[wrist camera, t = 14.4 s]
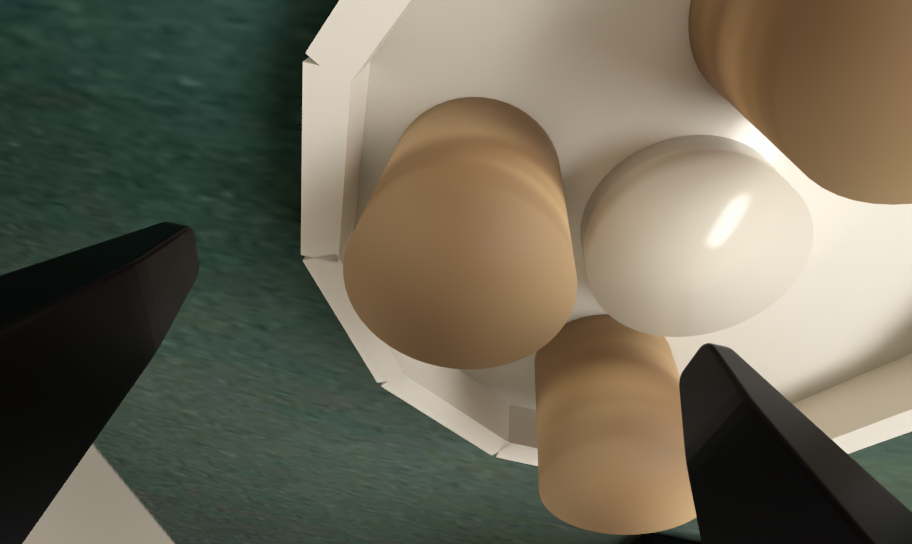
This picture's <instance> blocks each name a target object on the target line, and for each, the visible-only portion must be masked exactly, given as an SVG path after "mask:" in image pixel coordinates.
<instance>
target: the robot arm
mask: <svg viewBox="0 0 912 544" xmlns="http://www.w3.org/2000/svg"><path fill="white" fill-rule="evenodd" d="M198 271H199V262H198V255H197V249H196V242H195V236H194V232H193V230H192V229H191V228H190V227H188V226H185V225H180V224H176V223H171V222H162V223H159V224H156V225H153V226H150V227H147V228H144V229H141V230H138V231H135V232H132V233H129V234H126V235H123V236H120V237H117V238H113V239H110V240H107V241H104V242H101V243H98V244H95V245H92V246H89V247H86V248H83V249H80V250H77V251H74V252H71V253H68V254H65V255H62V256H59V257H56V258H53V259H50V260H47V261H44V262H40V263H37V264H34V265H31V266H28V267H25V268H22V269H19V270H16V271H13V272H10V273H7V274H4V275H1V276H0V544H22V543H23V542H24V540H25V539H26V537H27V536H28V535H29V533H30V532H31V530H32V529H33V527H34V526H35V525H36V523H37V522H38V520H39V519H40V517H41V516H42V515H43V513H44V512H45V510H46V509H47V508H48V506H49V505H50V503H51V502H52V500H53V499H54V497H55V496H56V494H57V493H58V492H59V490H60V489H61V488H62V486H63V485H64V483H65V482H66V480H67V479H68V478H69V476H70V475H71V473H72V472H73V470H74V469H75V468H76V466H77V465H78V463H79V462H80V460H81V459H82V458H83V456H84V455H85V453H86V452H87V450H88V449H89V448H90V446H91V445H92V443H93V442H94V440H95V439H96V438H97V436H98V435H99V433H100V432H101V430H102V429H103V428H104V426H105V425H106V423H107V422H108V421H109V419H110V418H111V416H112V415H113V413H114V412H115V411H116V409H117V408H118V406H119V405H120V403H121V402H122V401H123V399H124V398H125V396H126V395H127V393H128V392H129V391H130V389H131V388H132V386H133V385H134V383H135V382H136V381H137V379H138V378H139V376H140V375H141V373H142V372H143V371H144V369H145V368H146V366H147V365H148V363H149V362H150V360H151V359H152V357H153V356H154V354H155V353H156V351H157V350H158V348H159V346H160V345H161V343H162V341H163V339H164V338H165V336H166V334H167V332H168V330H169V328H170V326H171V325H172V323H173V321H174V319H175V317H176V315H177V313H178V312H179V310H180V308H181V306H182V304H183V302H184V300H185V299H186V297H187V295H188V293H189V291H190V289H191V287H192V286H193V284H194V282H195V280H196V278H197V275H198ZM679 391H680V402H681V414H682V425H683V437H684V448H685V457H686V465H687V471H688V476H689V482H690V487H691V491H692V496H693V501H694V506H695V511H696V516H697V521H698V526H699V531H700V536H701V541H702V544H912V512H911V511H910V510H909V509H908V508H907V507H905V506H904V505H903V504H902V503H901V502H900V501H899V500H898V499H897V498H896V497H894V496H893V495H892V494H891V493H890V492H889V491H888V490H887V489H886V488H884V487H883V486H882V485H881V484H880V483H879V482H878V481H877V480H876V479H875V478H873V477H872V476H871V475H870V474H869V473H868V472H867V471H866V470H865V469H864V468H862V467H861V466H860V465H859V464H858V463H857V462H856V461H855V460H854V459H853V458H851V457H850V456H849V455H848V454H847V453H846V452H845V451H844V450H843V449H841V448H840V447H839V446H838V445H837V444H836V443H835V442H834V441H833V440H832V439H830V438H829V437H828V436H827V435H826V434H825V433H824V432H823V431H822V430H821V429H819V428H818V427H817V426H816V425H815V424H814V423H813V422H812V421H811V420H810V419H808V418H807V417H806V416H805V415H804V414H803V413H802V412H801V411H800V410H799V409H797V408H796V407H795V406H794V405H793V404H792V403H791V402H790V401H789V400H787V399H786V398H785V397H784V396H783V395H782V394H781V393H780V392H779V391H778V390H776V389H775V388H774V387H773V386H772V385H771V384H770V383H769V382H768V381H767V380H765V379H764V378H763V377H762V376H761V375H760V374H759V373H758V372H757V371H756V370H754V369H753V368H752V367H751V366H750V365H749V364H748V363H747V362H746V361H745V360H743V359H742V358H741V357H740V356H739V355H738V354H737V353H736V352H735V351H734V350H732V349H731V348H729V347H726V346H721V345H717V344H713V343H706V344H704V345H702V346H701V347H700V348H699V349H698V351H697V352H696V354H695V355H694V356H693V358H692V359H691V360H690V362H689V363H688V365H687V366H686V367H685V369H684V370H683V372H682V374H681V376H680V380H679ZM635 544H696V543H691V542H686V541H682V540H677V539H672V538H667V537H662V536H657V535H644V536H642V537H640V538H639V539H638V540H637V541H636V542H635Z"/></svg>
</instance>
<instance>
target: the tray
mask: <svg viewBox="0 0 912 544" xmlns="http://www.w3.org/2000/svg"><path fill="white" fill-rule="evenodd" d="M690 2H691V0H339V1H338V3H337V5H336V6H335V8H334V9H333V11H332V12H331V14H330V15H329V17H328V18H327V20H326V22H325V23H324V25H323V26H322V28H321V29H320V31H319V32H318V34H317V36H316V37H315V39H314V40H313V42H312V43H311V45H310V46H309V48H308V49H307V51H306V54H307V55H308V56H309V57H308V58H307V59H306V60H304V61H303V78H302V176H301V255H303V256H305V257H304V259H303V262H304V264H305V266H306V267H307V269H308V271H309V272H310V274H311V275H312V277H313V279H314V280H315V282H316V284H317V285H318V287H319V288H320V290H321V292H322V293H323V295H324V297H325V298H326V300H327V302H328V303H329V305H330V306H331V308H332V310H333V311H334V313H335V315H336V316H337V318H338V319H339V321H340V323H341V324H342V326H343V328H344V329H345V331H346V333H347V334H348V336H349V337H350V339H351V341H352V342H353V344H354V346H355V347H356V349H357V350H358V352H359V354H360V355H361V357H362V359H363V360H364V362H365V364H366V365H367V367H368V368H369V370H370V372H371V373H372V375H373V377H374V378H375V380H376V381H377V383H379V382H382V384H381V387H383V388H384V389H386V390H388V391H389V392H391V393H392V394H394V395H396V396H397V397H399V398H400V399H402V400H404V401H405V402H407V403H408V404H410V405H412V406H413V407H415V408H416V409H418V410H420V411H421V412H423V413H424V414H426V415H428V416H429V417H431V418H432V419H434V420H436V421H437V422H439V423H440V424H442V425H444V426H445V427H447V428H448V429H450V430H452V431H453V432H455V433H456V434H458V435H460V436H461V437H463V438H464V439H466V440H468V441H469V442H471V443H472V444H474V445H476V446H477V447H479V448H480V449H482V450H484V451H485V452H487V453H488V454H490V455H494V454H495V453H496V457H497V458H502V459H507V460H511V461H516V462H521V463H526V464H530V465H535V466H538V448H537V420H536V392H535V363H534V362H535V355H536V352H537V351H536V352H535V353H533V354H531V355H529V356H527V357H525V358H523V359H520V360H518V361H516V362H513V363H509V364H506V365H503V366H498V367H493V368H485V369H452V368H445V367H440V366H435V365H431V364H427V363H424V362H421V361H418V360H416V359H413V358H411V357H409V356H406V355H404V354H402V353H400V352H398V351H397V350H395V349H393V348H392V347H390V346H388V345H387V344H386V343H384V342H383V341H382V340H380V339H379V338H378V337H377V336H376V335H375V334H374V333H372V332H371V331H370V330H369V329H368V328H367V326H366V325H365V324H364V323H363V322H362V321H361V319H360V318H359V316H358V315H357V313H356V312H355V310H354V308H353V306H352V304H351V302H350V300H349V298H348V295H347V292H346V289H345V283H344V277H343V262H344V256H345V251H346V248H347V245H348V242H349V239H350V237H351V235H352V233H353V231H354V229H355V227H356V225H357V223H358V222H359V220H360V218H361V216H362V214H363V212H364V210H365V208H366V206H367V204H368V202H369V200H370V198H371V196H372V194H373V192H374V190H375V188H376V186H377V184H378V182H379V180H380V178H381V176H382V174H383V172H384V170H385V168H386V166H387V164H388V162H389V160H390V158H391V156H392V154H393V152H394V150H395V148H396V146H397V144H398V142H399V140H400V139H401V137H402V135H403V133H404V132H405V131H406V129H407V128H408V127H409V125H410V124H411V123H412V122H413V121H414V120H415V119H416V118H417V117H419V116H420V115H421V114H422V113H424V112H425V111H427V110H428V109H430V108H432V107H434V106H436V105H438V104H440V103H443V102H446V101H449V100H453V99H457V98H464V97H485V98H491V99H496V100H499V101H503V102H506V103H508V104H511V105H513V106H515V107H517V108H519V109H521V110H522V111H524V112H525V113H527V114H528V115H529V116H531V117H532V118H533V119H534V120H535V121H537V122H538V124H539V125H540V126H541V127H542V128H543V129H544V130H545V132H546V133H547V135H548V136H549V138H550V139H551V141H552V143H553V145H554V147H555V149H556V152H557V156H558V159H559V164H560V170H561V177H562V183H563V190H564V196H565V203H566V209H567V216H568V222H569V228H570V235H571V241H572V248H573V254H574V261H575V267H576V274H577V294H576V299H575V304H574V306H573V309H572V312H571V314H570V316H569V318H568V320H567V322H566V323H568V322H570V321H573V320H576V319H579V318H582V317H587V316H592V315H602V314H608V315H610V316H611V317H612V318H614V319H615V320H616V321H618V322H620V323H621V324H623V325H625V326H627V327H629V328H632V329H634V330H637V331H640V332H643V333H647V334H652V335H658V336H664V337H665V339H666V340H667V342H668V344H669V346H670V348H671V351H672V354H673V357H674V360H675V363H676V366H677V369H678V372H679V375H680V376H681V374H682V372H683V370H684V369H685V367H686V366H687V365H688V363H689V362H690V360H691V359H692V358H693V356H694V355H695V354H696V352H697V351H698V349H699V348H700V347H701V346H702V345H704V344H706V343H713V344H717V345H721V346H726V347H729V348H731V349H732V350H734V351H735V352H736V353H737V354H738V355H739V356H740V357H741V358H742V359H743V360H745V361H746V362H747V363H748V364H749V365H750V366H751V367H752V368H753V369H754V370H756V371H757V372H758V373H759V374H760V375H761V376H762V377H763V378H764V379H765V380H767V381H768V382H769V383H770V384H771V385H772V386H773V387H774V388H775V389H776V390H778V391H779V392H780V393H781V394H782V395H783V396H784V397H785V398H786V399H787V400H789V401H790V402H791V403H792V404H793V405H794V406H795V407H796V408H797V409H799V410H800V411H801V412H802V413H803V414H804V415H805V416H806V417H807V418H808V419H810V420H811V421H812V422H813V423H814V424H815V425H816V426H817V427H818V428H819V429H821V430H822V431H823V432H824V433H825V434H826V435H827V436H828V437H829V438H830V439H832V440H833V441H834V442H835V443H836V444H837V445H838V446H839V447H840V448H841V449H843V450H844V451H845V452H846V453H847V454H849V453H852V452H854V451H857V450H860V449H863V448H866V447H869V446H871V445H874V444H877V443H880V442H883V441H886V440H888V439H891V438H894V437H897V436H900V435H902V434H905V433H908V432H911V431H912V204H898V205H888V204H872V203H866V202H860V201H854V200H851V199H848V198H845V197H841V196H838V195H836V194H834V193H832V192H830V191H828V190H826V189H824V188H822V187H820V186H819V185H818V184H816V183H815V182H813V181H812V180H811V179H809V178H808V177H807V176H806V175H805V174H804V173H803V172H802V171H801V170H800V169H799V168H798V167H797V166H796V165H794V164H793V163H792V162H791V161H790V160H789V159H788V158H787V157H786V156H785V155H784V154H783V153H782V152H781V151H780V150H779V149H778V148H777V147H776V146H774V145H773V144H772V143H771V142H770V141H769V140H768V139H767V138H766V137H765V136H764V135H763V134H762V133H761V132H760V131H759V130H758V129H757V128H756V127H754V126H753V125H752V124H751V123H750V122H749V121H748V120H747V119H746V118H745V117H744V116H743V115H742V114H741V113H740V112H739V111H738V110H737V109H736V108H734V107H733V106H732V105H731V104H730V103H729V102H728V101H727V100H726V99H725V98H724V97H723V96H722V95H721V94H720V93H719V92H718V91H717V90H716V89H714V88H713V86H712V85H711V84H710V83H709V82H708V81H707V80H706V79H705V78H704V76H703V75H702V73H701V72H700V70H699V69H698V66H697V64H696V62H695V60H694V57H693V54H692V50H691V47H690V40H689V32H688V21H689V10H690ZM566 323H565V324H566Z"/></svg>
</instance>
